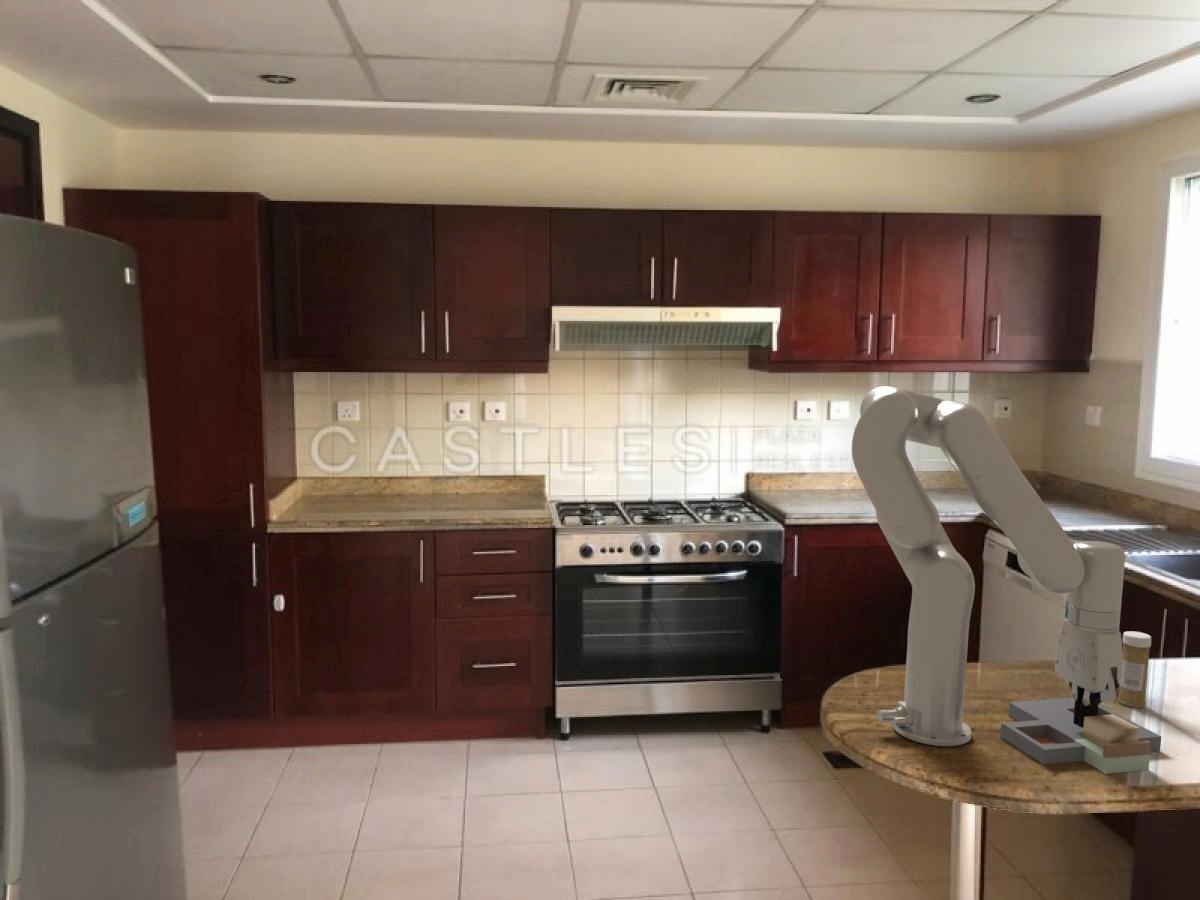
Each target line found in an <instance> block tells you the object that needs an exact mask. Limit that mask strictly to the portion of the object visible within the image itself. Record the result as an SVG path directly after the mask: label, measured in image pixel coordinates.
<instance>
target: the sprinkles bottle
mask: <svg viewBox="0 0 1200 900" xmlns="http://www.w3.org/2000/svg"><path fill="white" fill-rule="evenodd" d="M1151 647H1152V636H1151V635H1149V634H1148V633H1144V632H1141V631H1133V630H1132V631H1131V630H1130V631H1124V632H1123V634H1122V659H1123V661H1122V680H1121V685H1120V688H1119V690H1118V691H1119V692H1118V698H1117V701H1118V702H1119V704H1121V705H1123V706H1126V707H1130V708H1134V709H1135V708H1136V709H1138V708H1139V709H1140V708H1144V707H1145V706H1146V695H1147V688H1148V675H1149V674H1148V671H1149V660H1150V649H1151Z"/></svg>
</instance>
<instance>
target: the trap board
mask: <svg viewBox="0 0 1200 900" xmlns="http://www.w3.org/2000/svg"><path fill="white" fill-rule="evenodd" d="M1075 701H1076V700H1074V699H1073V697H1062V698H1049V699H1035V700H1034V699H1033V700H1022V701H1021V700H1020V701H1009V703H1008V704H1009V705H1008V714H1007V715H1008V717H1010V718H1011V719H1013V720H1015V721H1011V722H1009V721H1008V722H1001V726H1000V738H1001V739H1002V740H1004V741H1006V742H1008V743H1009V744H1011V745H1012V746H1013V747H1014V748H1016V749H1018V750H1020V751H1021V752H1023V753H1024V754H1026V756H1027V755H1028V757H1030V758H1032V759H1033V760H1035V761H1037V762H1039V763H1040V764H1041V765H1042V766H1043V765H1046V766H1047V765H1057V764H1068V763H1077V762H1079V761H1080V762H1085V763H1086V762H1087V764H1088V765H1089V766H1091V765H1092V766H1091V767H1093V768H1094V769H1096V768H1097V769H1096V770H1098V771H1099V772H1102V773H1103V774H1104V775H1107V774H1117V773H1118V774H1119V773H1129V772H1139V771H1149V767H1150V757H1151V756H1150V755H1151V753H1154V751H1156V752H1160V751H1161V745H1162V736H1161V735H1160V734H1157V733H1155V732H1154V731H1152V730H1150V729H1147V728H1145V727H1144V726H1141V725H1139V724H1138V723H1136V722H1134V721H1132V720H1130V719H1128V718H1126V717H1124V716H1122V715H1120V714H1118V713H1117V712H1114V711H1112V710H1111V709H1109V708H1106V707H1104V706H1102V704H1099V705H1098V715H1097V716H1100V715H1111V714H1113V715H1115V716H1117V717H1119V718H1121V719H1123V720H1125V721H1127V722H1129V723H1131V724H1133V725H1135V726H1137V727H1139V728H1140V729H1139V740H1138V741H1132V742H1120V743H1109V744H1104V747H1103V748H1101V747H1099V746H1097V745H1095V744H1093V743H1092V742H1090V741H1088V740H1086V739H1084V738H1083V728H1081V727H1079V726H1078V725H1076V724H1074V723H1073V719H1074V707H1075Z"/></svg>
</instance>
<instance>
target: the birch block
mask: <svg viewBox="0 0 1200 900" xmlns="http://www.w3.org/2000/svg"><path fill="white" fill-rule="evenodd" d="M1139 729H1140V728H1139V727H1137V726H1135V725H1133V724H1131V723H1129V722H1127V721H1125V720H1123V719H1121V718H1119V717H1117V716H1115V715H1113V714H1111V715H1100V716H1089V717H1084V727H1083V738H1084V739H1086V740H1088V741H1090V742H1092V743H1093V744H1095V745H1097V746H1099V747H1101V748H1103V747H1104V744H1109V743H1120V742H1132V741H1138V740H1139Z"/></svg>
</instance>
